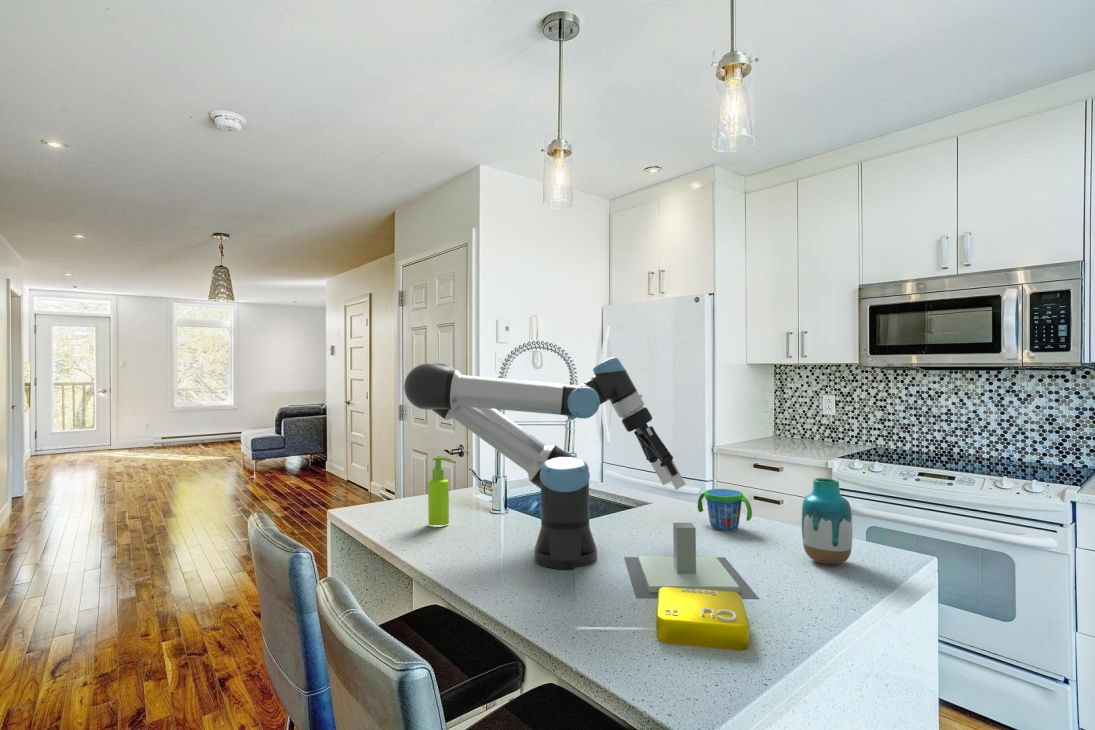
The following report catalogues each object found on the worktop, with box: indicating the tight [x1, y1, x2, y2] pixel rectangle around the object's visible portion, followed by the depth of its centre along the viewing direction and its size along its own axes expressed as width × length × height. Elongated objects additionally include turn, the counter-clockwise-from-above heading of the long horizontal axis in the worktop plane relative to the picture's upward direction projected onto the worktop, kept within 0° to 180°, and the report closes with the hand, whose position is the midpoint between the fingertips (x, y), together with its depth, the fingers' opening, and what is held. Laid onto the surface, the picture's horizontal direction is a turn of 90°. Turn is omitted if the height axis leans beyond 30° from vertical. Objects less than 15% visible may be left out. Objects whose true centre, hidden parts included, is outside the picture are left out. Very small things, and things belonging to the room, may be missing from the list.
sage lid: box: [637, 522, 739, 593], centre depth 122 cm, size 18×18×11 cm
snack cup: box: [697, 488, 753, 532], centre depth 159 cm, size 16×10×10 cm
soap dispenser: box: [427, 456, 453, 525], centre depth 165 cm, size 6×7×20 cm
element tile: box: [655, 587, 750, 652], centre depth 99 cm, size 15×15×5 cm
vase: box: [801, 477, 853, 565], centre depth 131 cm, size 11×11×19 cm
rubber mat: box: [623, 556, 760, 600], centre depth 122 cm, size 24×24×1 cm
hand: (674, 484), depth 145 cm, fingers open, 13 cm apart
